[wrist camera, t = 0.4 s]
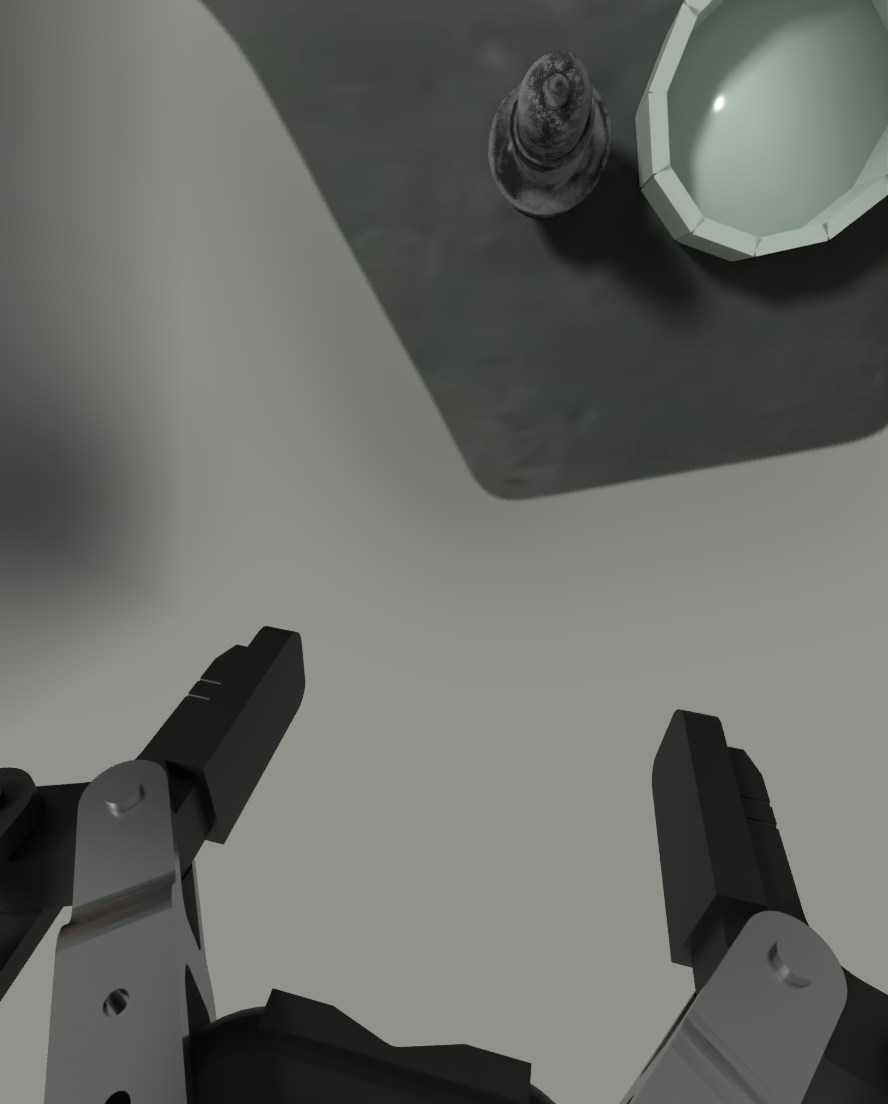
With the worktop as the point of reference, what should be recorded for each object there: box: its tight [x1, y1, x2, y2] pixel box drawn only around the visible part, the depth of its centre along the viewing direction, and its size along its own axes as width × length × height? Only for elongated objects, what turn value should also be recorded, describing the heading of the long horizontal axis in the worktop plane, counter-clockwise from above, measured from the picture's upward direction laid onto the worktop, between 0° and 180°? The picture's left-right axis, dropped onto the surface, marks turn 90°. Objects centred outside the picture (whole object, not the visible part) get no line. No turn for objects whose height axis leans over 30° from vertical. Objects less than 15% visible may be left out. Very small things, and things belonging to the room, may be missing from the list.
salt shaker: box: [488, 51, 612, 218], centre depth 25 cm, size 6×6×12 cm
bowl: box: [635, 0, 888, 261], centre depth 27 cm, size 12×12×4 cm
